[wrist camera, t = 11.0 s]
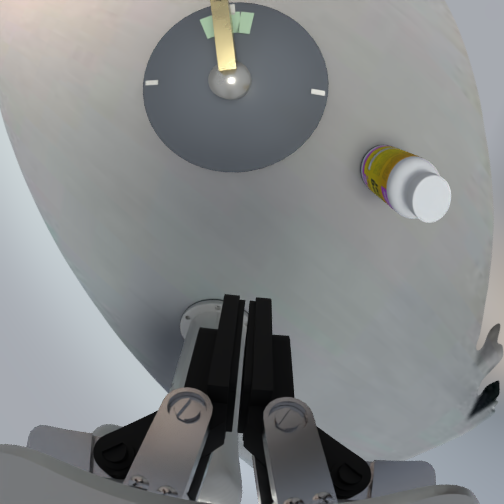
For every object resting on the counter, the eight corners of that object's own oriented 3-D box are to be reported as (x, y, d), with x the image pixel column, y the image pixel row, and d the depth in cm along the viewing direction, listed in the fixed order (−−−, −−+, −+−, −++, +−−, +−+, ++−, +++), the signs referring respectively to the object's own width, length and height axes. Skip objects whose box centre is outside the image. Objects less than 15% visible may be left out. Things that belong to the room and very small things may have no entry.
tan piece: (253, 97, 29) (252, 95, 26) (215, 102, 29) (209, 101, 26) (241, 0, 23) (238, -11, 20) (203, 6, 23) (197, -4, 20)
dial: (313, 180, 35) (315, 182, 33) (143, 165, 34) (139, 168, 33) (333, 17, 24) (335, 14, 23) (156, 9, 24) (152, 6, 23)
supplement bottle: (349, 170, 34) (389, 200, 22) (381, 133, 31) (434, 148, 20) (382, 203, 35) (427, 245, 24) (412, 169, 33) (468, 198, 21)
